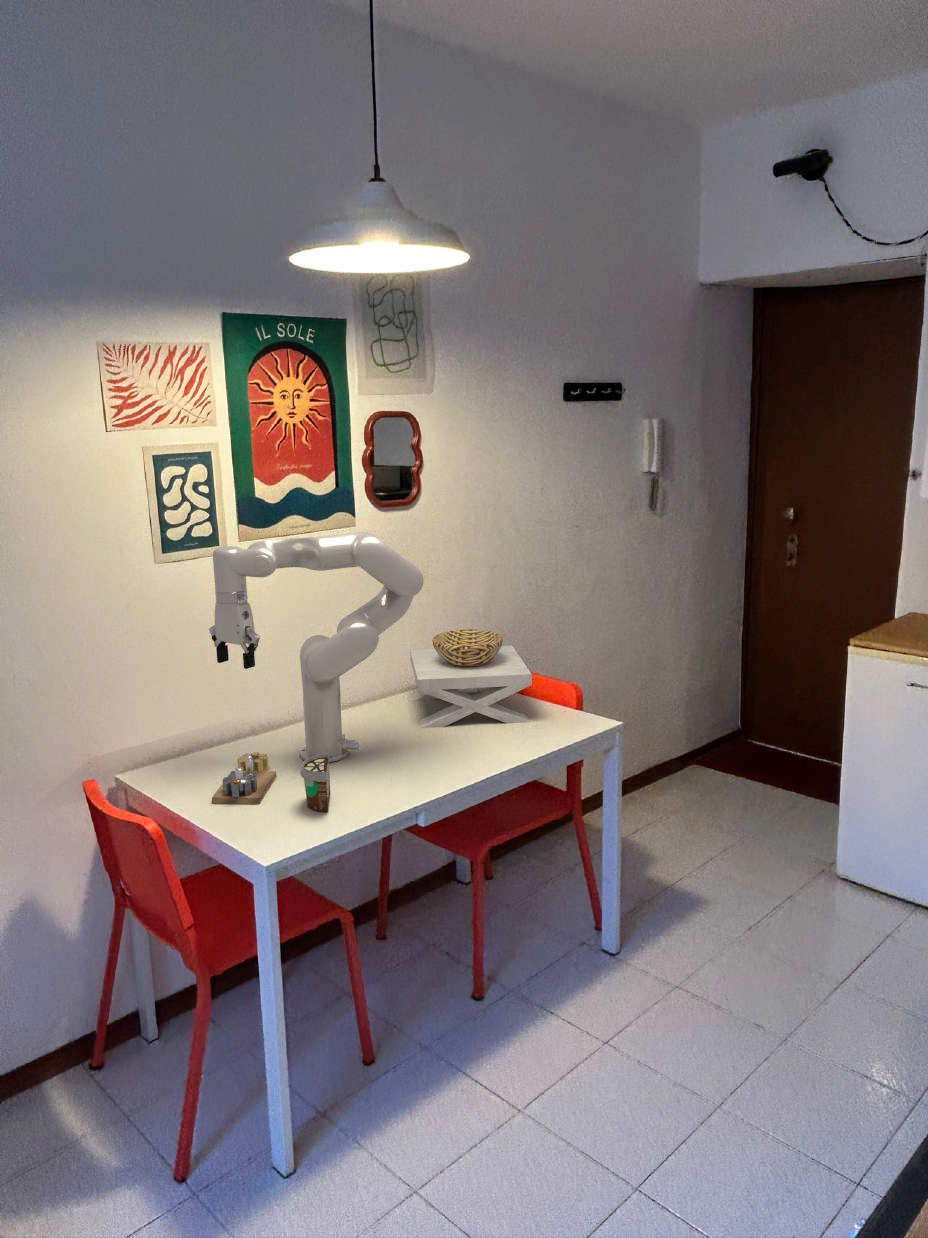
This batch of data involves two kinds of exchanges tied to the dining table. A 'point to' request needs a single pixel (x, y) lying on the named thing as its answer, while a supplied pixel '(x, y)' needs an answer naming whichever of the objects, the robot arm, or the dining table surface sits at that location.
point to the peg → (249, 764)
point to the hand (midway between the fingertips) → (236, 664)
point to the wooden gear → (255, 761)
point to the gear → (239, 783)
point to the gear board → (263, 786)
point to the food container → (317, 782)
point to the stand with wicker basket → (469, 676)
